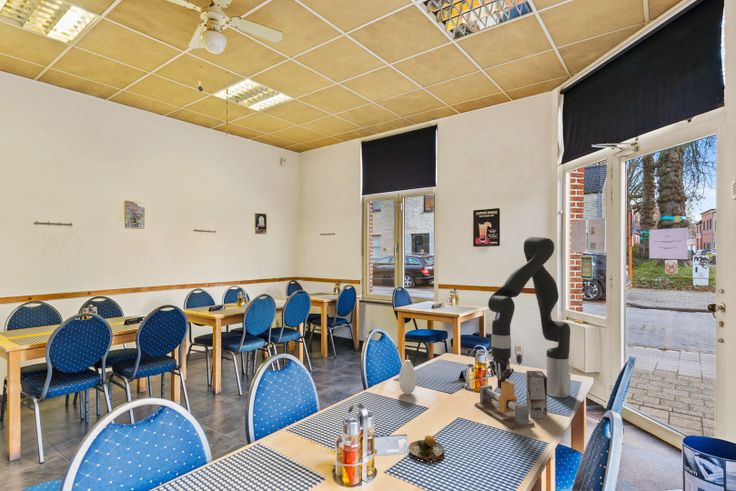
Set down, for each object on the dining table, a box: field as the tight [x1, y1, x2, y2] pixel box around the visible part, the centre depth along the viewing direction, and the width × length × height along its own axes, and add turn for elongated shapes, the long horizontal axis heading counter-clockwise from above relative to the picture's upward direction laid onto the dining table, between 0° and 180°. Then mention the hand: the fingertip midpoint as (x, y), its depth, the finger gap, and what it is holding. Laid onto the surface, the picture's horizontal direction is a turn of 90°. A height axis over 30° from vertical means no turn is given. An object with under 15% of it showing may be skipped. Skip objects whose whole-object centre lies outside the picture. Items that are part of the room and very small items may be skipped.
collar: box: [498, 380, 518, 413], centre depth 161 cm, size 3×6×11 cm, turn 110°
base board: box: [474, 399, 535, 431], centre depth 164 cm, size 24×10×1 cm, turn 20°
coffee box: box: [525, 370, 548, 419], centre depth 166 cm, size 9×6×16 cm
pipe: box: [479, 384, 530, 426], centre depth 164 cm, size 24×5×7 cm, turn 20°
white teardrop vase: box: [398, 354, 417, 396], centre depth 187 cm, size 8×8×18 cm
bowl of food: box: [408, 435, 445, 462], centre depth 134 cm, size 12×12×8 cm
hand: (501, 388), depth 165 cm, fingers closed
